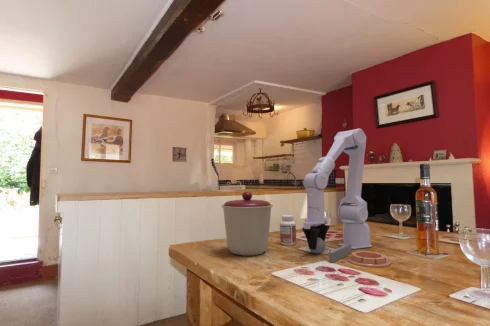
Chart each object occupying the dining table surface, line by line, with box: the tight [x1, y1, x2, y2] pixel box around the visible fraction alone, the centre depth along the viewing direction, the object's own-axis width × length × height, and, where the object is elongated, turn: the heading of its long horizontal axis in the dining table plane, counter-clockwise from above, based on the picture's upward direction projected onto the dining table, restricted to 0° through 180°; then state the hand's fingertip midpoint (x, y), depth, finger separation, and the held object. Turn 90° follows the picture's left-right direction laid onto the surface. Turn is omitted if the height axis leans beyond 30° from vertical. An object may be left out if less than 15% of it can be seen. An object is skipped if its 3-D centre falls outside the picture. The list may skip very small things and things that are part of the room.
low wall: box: [328, 243, 353, 264], centre depth 94 cm, size 16×1×3 cm, turn 141°
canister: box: [221, 191, 274, 257], centre depth 102 cm, size 18×18×21 cm
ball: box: [309, 237, 326, 254], centre depth 100 cm, size 6×6×6 cm
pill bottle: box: [279, 214, 297, 246], centre depth 115 cm, size 6×6×11 cm
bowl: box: [347, 250, 391, 268], centre depth 89 cm, size 12×12×2 cm
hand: (316, 247), depth 100 cm, fingers closed on ball, 5 cm apart
